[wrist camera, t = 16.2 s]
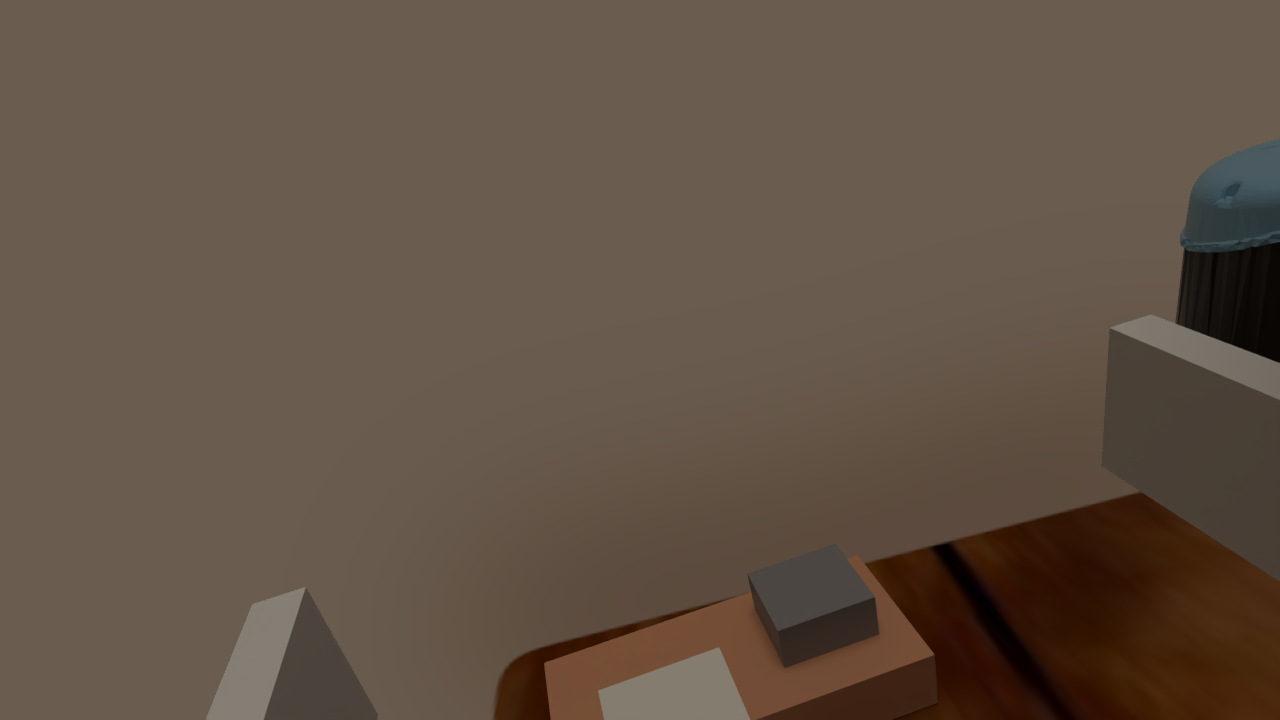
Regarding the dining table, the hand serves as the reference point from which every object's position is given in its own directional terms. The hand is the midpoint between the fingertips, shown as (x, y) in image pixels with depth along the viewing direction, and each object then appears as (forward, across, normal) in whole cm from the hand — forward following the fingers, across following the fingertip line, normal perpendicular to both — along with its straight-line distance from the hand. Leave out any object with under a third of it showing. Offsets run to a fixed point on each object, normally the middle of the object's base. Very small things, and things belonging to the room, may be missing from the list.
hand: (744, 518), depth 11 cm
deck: (+19, +2, -32) cm, 37 cm away
